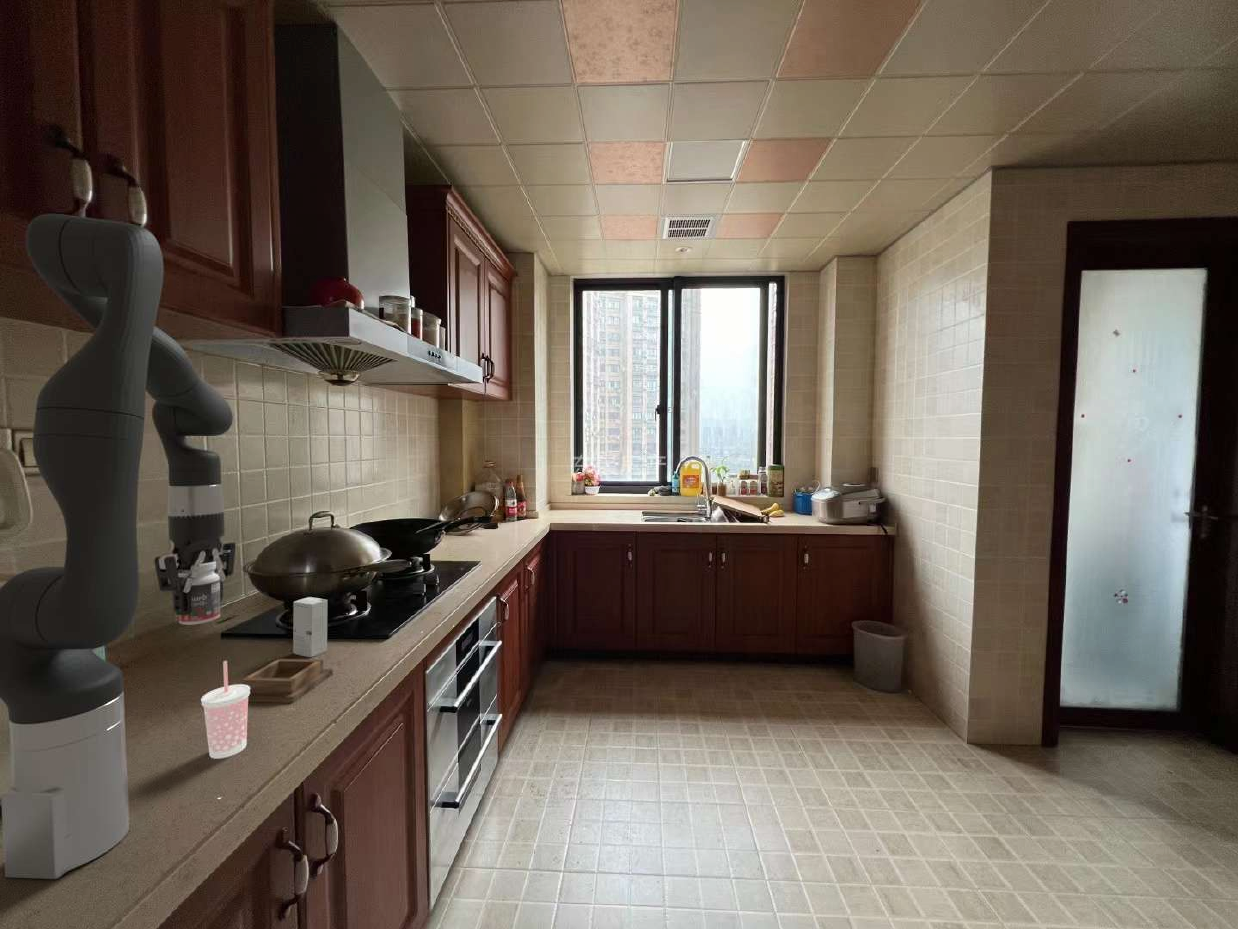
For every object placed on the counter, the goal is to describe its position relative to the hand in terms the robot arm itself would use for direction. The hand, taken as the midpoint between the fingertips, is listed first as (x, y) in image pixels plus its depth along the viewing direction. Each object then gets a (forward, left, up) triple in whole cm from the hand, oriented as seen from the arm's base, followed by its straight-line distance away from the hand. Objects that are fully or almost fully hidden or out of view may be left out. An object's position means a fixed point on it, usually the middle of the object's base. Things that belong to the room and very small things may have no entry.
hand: (199, 608), depth 91 cm
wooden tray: (+12, -6, -19) cm, 24 cm away
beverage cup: (-9, -12, -20) cm, 25 cm away
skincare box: (+29, 0, -20) cm, 35 cm away
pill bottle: (0, 0, -2) cm, 2 cm away
